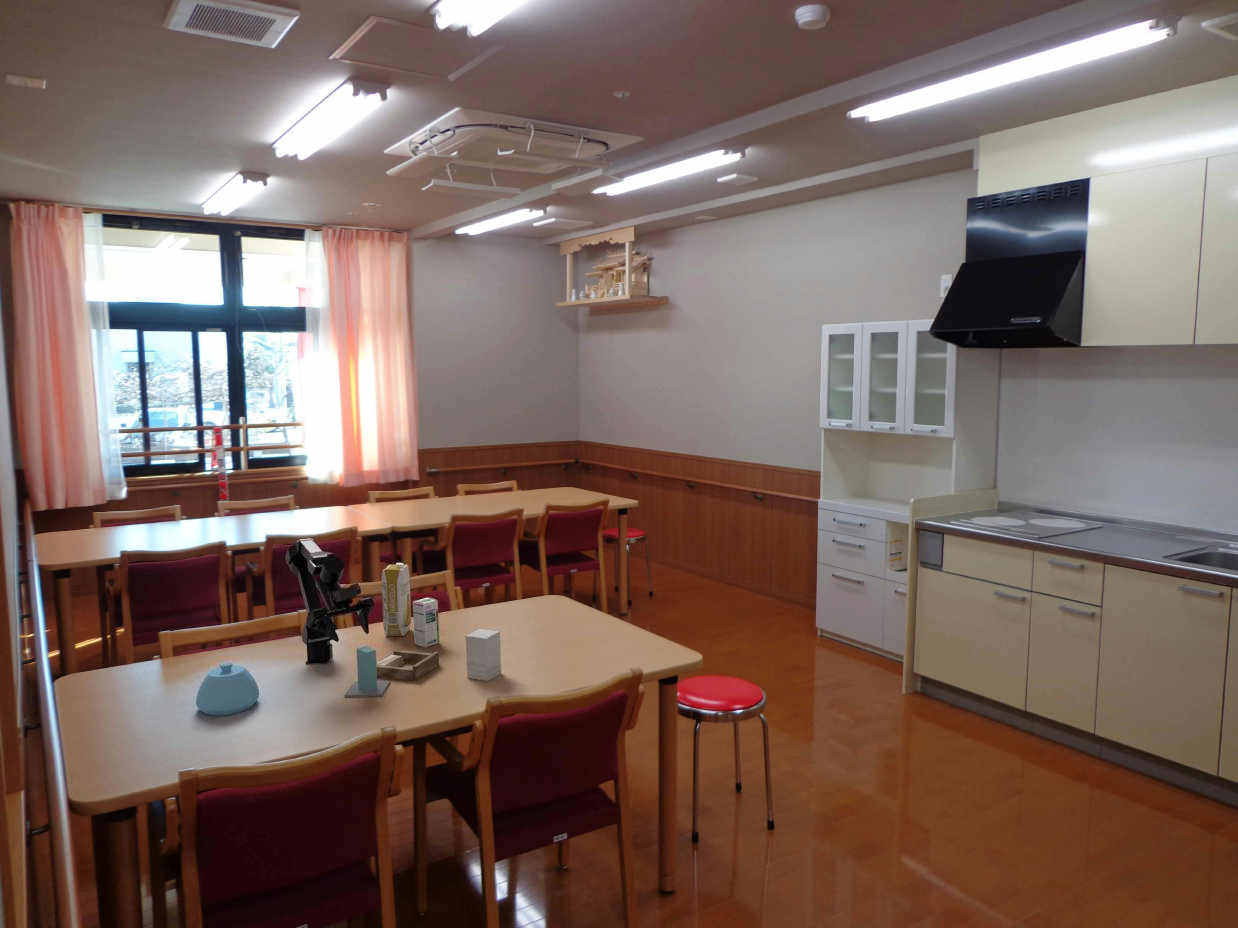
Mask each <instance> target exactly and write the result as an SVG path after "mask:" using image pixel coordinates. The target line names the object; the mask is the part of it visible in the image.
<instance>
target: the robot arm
mask: <svg viewBox="0 0 1238 928" xmlns="http://www.w3.org/2000/svg"><path fill="white" fill-rule="evenodd" d="M285 562H286V565H288V567H289V569H290V572H291V573H292V574H293V575H295V576H296V577H297V579H298V583H299V586H300V591H301V594H302V598H303V603H304V606H305V609H306V613H307V615H306V618H305V623H304V626H303V629H302V632H301V640H302V642H303V644H305V645H306V655H307V657H306V658H307V660H306V661H305V664H306V665H309V664H312V665H313V664H315V665H317V664H328V663H329V662H330V661H331V659H332V658H333V657H334V654H333V653H334V652H333V643H331V641H335V642H336V643H338V642H339V641H340V640H339V639H340V638H339V636H338V635H339V634H338V632H337V631H336V628H337V624H335V623H336V622H335V621H334V620H333V618H336V617H339V616H345V615H347V614H352V613H354V615H355V616H356V620H357V622H358V624H359V625H360V627H361V628H362V630H363V631H364V633H365V634H366V635H368V634H369V633H370V627H369V614H370V613H371V611H372V610H373V608H374V607H375V605H376V603H375V602H376V601H374V598H372V597H370V596H369V597H365V598H364V597H363V598H359V599H358V600H357V602H356V604H355V605H351V604H352V603H353V602H354V600H353V599H354V598H355V599H356V598H358V596H359V595H360V594H361V593H362V589H361V586H360V585H359V583H358V582H356V583H351V585H349V587H342V586H341V583H340V582H339V581H341V578H342V576H343V572H344V570H345V567H346V566H345V562H344V560H343V559H341V558H340V557H338V556H336V554H335V553H332V552H329V551H323V550H322V549H321V548H320V547H319V546H318V545H317V544H316V541H315V539H314V538H312V537H311V538H310V537H308V538H300V539H297V540H296V541H295V544H293V545H291V546H290V547H289V548H287V550H286V553H285ZM315 576H318V577H317V578H315ZM315 579H316V580H315ZM319 593H320V594H319ZM320 595H321V597H322V601H321V597H320ZM322 604H323V605H322ZM324 605H325V606H326V607H323V606H324Z"/></svg>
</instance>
